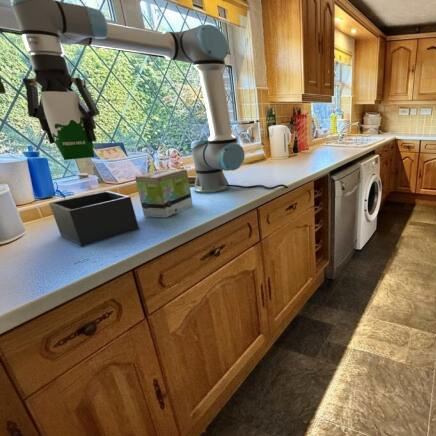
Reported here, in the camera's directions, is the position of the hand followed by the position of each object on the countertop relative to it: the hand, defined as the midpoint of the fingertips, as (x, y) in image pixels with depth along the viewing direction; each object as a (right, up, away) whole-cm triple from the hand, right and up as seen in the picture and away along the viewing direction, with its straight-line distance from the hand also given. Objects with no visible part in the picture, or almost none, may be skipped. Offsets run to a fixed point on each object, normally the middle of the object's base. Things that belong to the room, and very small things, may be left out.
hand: (73, 141), depth 88 cm
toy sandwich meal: (+7, -5, +67) cm, 68 cm away
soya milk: (0, -4, +2) cm, 5 cm away
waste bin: (+3, -27, +7) cm, 28 cm away
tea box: (+15, -20, +26) cm, 36 cm away
